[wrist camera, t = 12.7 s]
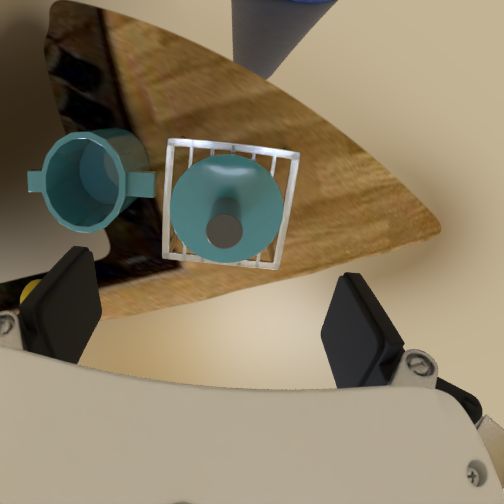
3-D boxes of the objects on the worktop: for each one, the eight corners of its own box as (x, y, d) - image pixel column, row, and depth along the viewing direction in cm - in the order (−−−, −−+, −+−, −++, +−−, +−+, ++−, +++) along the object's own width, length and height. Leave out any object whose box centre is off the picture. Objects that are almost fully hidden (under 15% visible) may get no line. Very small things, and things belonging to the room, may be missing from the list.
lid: (175, 148, 26) (158, 156, 20) (290, 161, 28) (305, 172, 22) (170, 253, 31) (156, 284, 25) (272, 263, 32) (280, 296, 26)
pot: (61, 129, 29) (23, 136, 22) (174, 128, 31) (155, 131, 23) (62, 204, 34) (28, 227, 26) (168, 212, 35) (151, 239, 28)
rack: (179, 134, 31) (167, 137, 26) (289, 147, 33) (300, 152, 27) (172, 237, 37) (162, 258, 31) (272, 247, 38) (279, 270, 33)
